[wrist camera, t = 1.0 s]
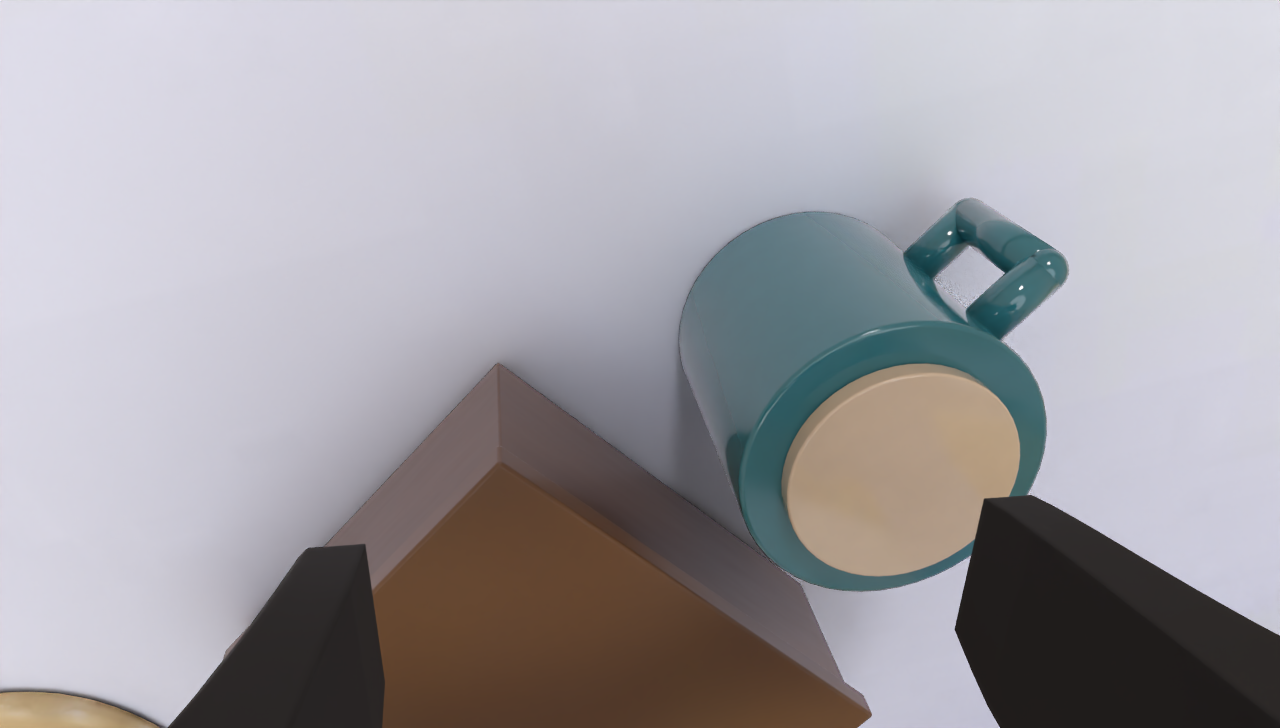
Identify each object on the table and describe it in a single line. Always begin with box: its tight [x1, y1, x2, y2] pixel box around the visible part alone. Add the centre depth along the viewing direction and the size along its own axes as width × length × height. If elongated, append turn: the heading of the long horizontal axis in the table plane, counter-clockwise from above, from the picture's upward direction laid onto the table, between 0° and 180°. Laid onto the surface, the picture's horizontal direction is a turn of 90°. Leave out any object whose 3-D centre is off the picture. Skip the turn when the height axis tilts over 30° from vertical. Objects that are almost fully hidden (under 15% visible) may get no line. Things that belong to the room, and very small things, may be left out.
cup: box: [679, 198, 1069, 592], centre depth 18 cm, size 5×7×6 cm
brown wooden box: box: [223, 363, 872, 728], centre depth 21 cm, size 10×10×5 cm
